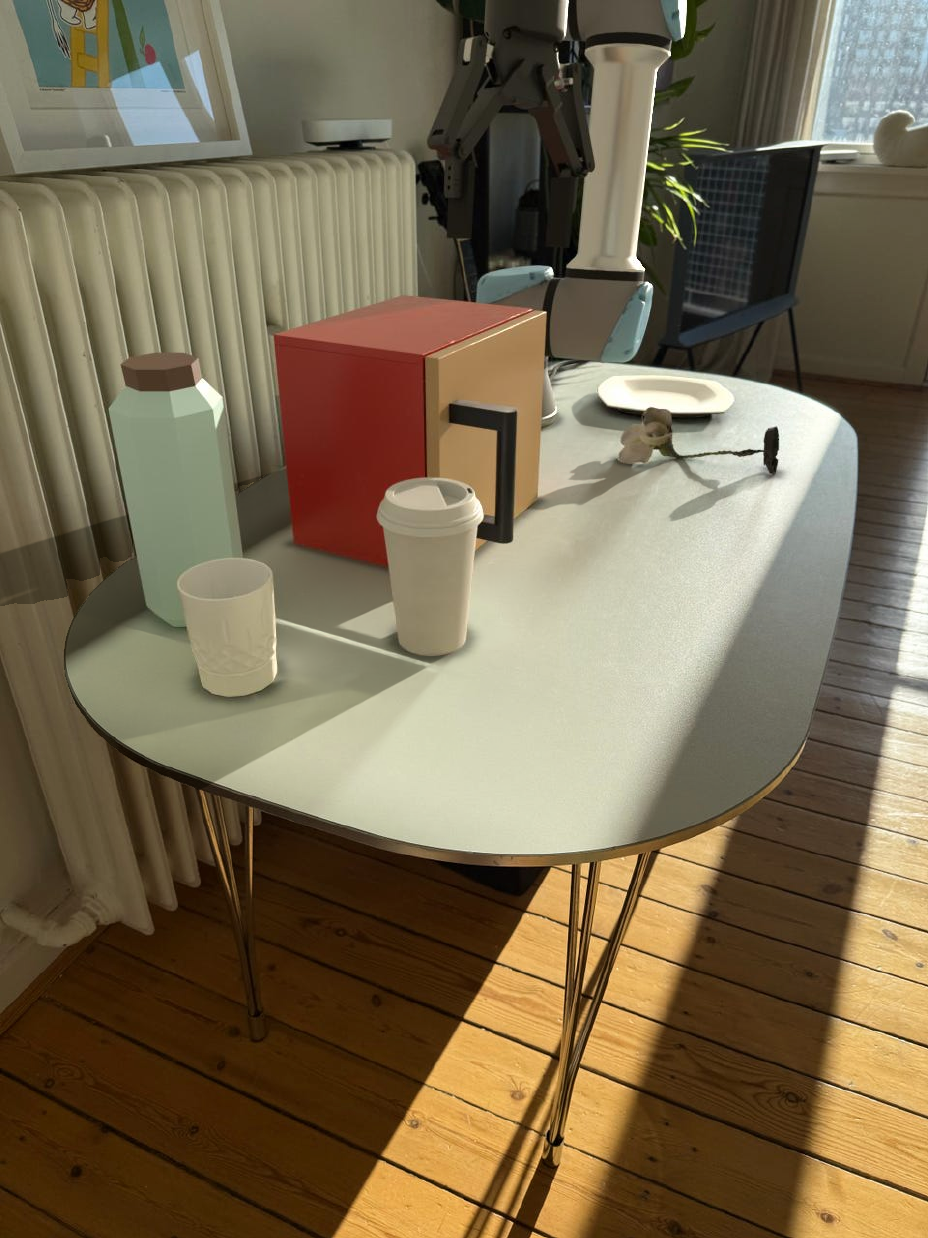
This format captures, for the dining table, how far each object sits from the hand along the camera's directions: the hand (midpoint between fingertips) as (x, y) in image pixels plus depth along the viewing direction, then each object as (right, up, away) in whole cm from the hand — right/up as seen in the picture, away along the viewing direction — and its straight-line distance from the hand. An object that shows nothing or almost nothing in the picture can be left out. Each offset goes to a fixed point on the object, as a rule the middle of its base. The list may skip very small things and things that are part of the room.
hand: (510, 243), depth 89 cm
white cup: (-25, -43, -8) cm, 50 cm away
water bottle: (-32, -36, +3) cm, 48 cm away
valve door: (+1, -28, +17) cm, 33 cm away
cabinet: (-11, -25, +22) cm, 35 cm away
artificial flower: (+28, -15, +40) cm, 52 cm away
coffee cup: (-8, -39, -2) cm, 40 cm away
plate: (+30, 0, +67) cm, 73 cm away
